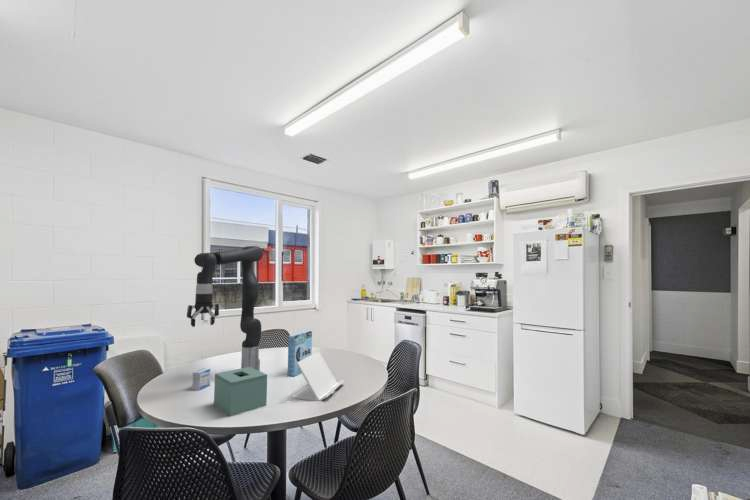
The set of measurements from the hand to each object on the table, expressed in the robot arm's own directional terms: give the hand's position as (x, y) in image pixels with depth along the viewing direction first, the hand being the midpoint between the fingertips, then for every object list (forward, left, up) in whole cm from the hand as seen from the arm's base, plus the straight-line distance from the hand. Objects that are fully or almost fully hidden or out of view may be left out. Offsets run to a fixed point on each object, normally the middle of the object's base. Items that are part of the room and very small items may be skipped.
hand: (202, 325), depth 165 cm
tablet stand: (-44, +38, -34) cm, 67 cm away
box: (-8, +27, -33) cm, 43 cm away
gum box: (-56, +2, -33) cm, 65 cm away
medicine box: (-4, -10, -33) cm, 35 cm away
